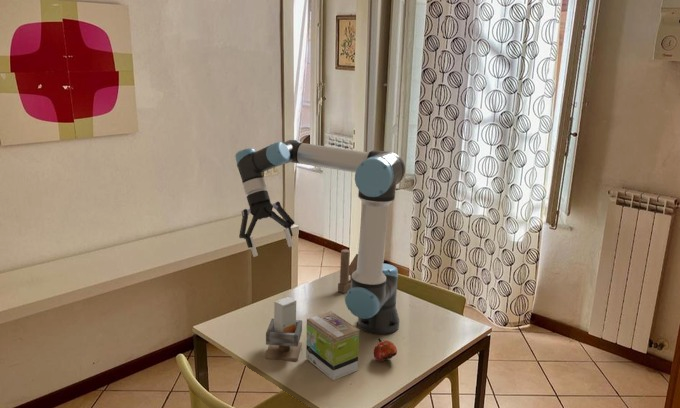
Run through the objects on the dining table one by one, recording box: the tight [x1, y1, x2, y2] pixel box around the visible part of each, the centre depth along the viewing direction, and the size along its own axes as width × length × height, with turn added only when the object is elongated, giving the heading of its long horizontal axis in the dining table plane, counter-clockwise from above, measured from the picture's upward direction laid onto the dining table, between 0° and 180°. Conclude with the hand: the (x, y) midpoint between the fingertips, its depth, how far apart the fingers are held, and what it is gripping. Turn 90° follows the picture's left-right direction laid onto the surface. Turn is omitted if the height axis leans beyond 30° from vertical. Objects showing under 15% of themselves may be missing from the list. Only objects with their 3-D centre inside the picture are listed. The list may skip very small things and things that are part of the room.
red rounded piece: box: [373, 337, 398, 368], centre depth 177 cm, size 7×7×10 cm
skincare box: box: [273, 296, 297, 333], centre depth 178 cm, size 6×4×12 cm
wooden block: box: [337, 248, 358, 294], centre depth 229 cm, size 4×11×18 cm, turn 135°
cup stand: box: [265, 318, 303, 362], centre depth 180 cm, size 10×10×9 cm
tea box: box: [305, 310, 360, 381], centre depth 172 cm, size 15×10×15 cm
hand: (273, 251), depth 190 cm, fingers open, 13 cm apart
